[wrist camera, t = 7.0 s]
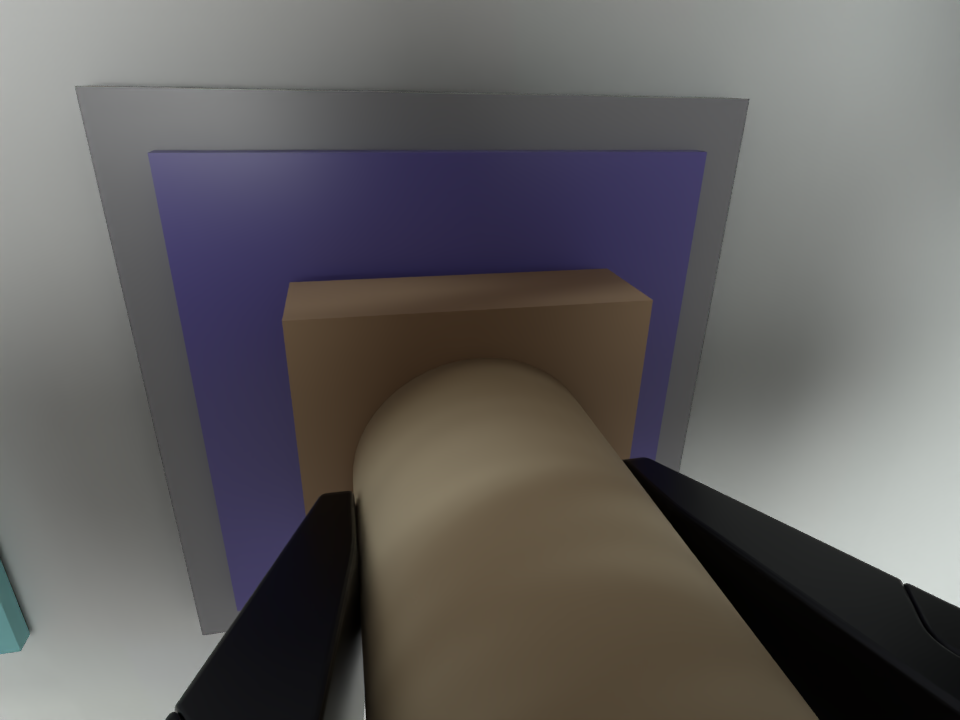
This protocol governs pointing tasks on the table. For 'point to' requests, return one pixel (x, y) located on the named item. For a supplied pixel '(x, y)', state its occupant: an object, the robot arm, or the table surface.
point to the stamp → (510, 504)
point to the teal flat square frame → (10, 618)
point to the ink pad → (378, 255)
